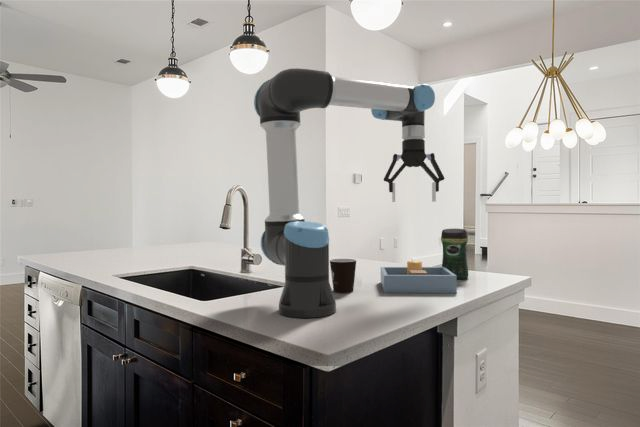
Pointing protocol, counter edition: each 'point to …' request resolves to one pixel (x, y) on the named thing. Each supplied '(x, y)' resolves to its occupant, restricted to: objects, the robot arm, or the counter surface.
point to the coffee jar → (455, 251)
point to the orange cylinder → (414, 266)
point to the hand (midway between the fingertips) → (413, 201)
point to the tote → (418, 280)
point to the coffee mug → (343, 275)
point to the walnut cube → (417, 272)
